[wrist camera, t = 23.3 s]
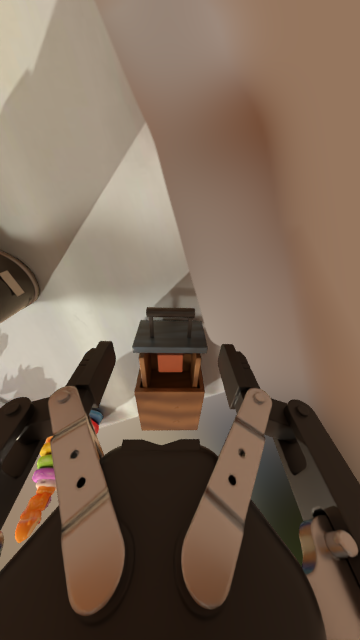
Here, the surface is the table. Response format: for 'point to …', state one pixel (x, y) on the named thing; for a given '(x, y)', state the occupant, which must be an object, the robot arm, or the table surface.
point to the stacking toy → (44, 487)
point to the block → (170, 362)
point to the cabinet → (169, 406)
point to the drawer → (170, 347)
